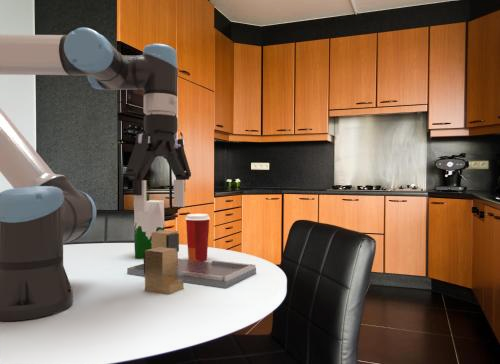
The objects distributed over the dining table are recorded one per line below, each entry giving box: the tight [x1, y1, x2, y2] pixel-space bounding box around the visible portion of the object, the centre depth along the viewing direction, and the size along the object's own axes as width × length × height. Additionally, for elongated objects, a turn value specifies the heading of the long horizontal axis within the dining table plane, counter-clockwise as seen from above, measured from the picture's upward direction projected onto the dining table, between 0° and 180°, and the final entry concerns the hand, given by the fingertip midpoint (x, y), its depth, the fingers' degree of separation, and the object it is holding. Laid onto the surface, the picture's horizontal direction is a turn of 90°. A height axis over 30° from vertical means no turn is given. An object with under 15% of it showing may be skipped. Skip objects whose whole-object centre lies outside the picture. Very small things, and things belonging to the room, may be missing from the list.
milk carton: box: [133, 193, 165, 260], centre depth 127 cm, size 9×9×20 cm
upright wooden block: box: [143, 247, 185, 295], centre depth 90 cm, size 5×8×9 cm, turn 63°
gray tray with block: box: [126, 229, 257, 289], centre depth 104 cm, size 16×30×10 cm, turn 63°
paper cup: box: [184, 213, 211, 262], centre depth 122 cm, size 8×8×14 cm
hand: (161, 208), depth 90 cm, fingers open, 13 cm apart
